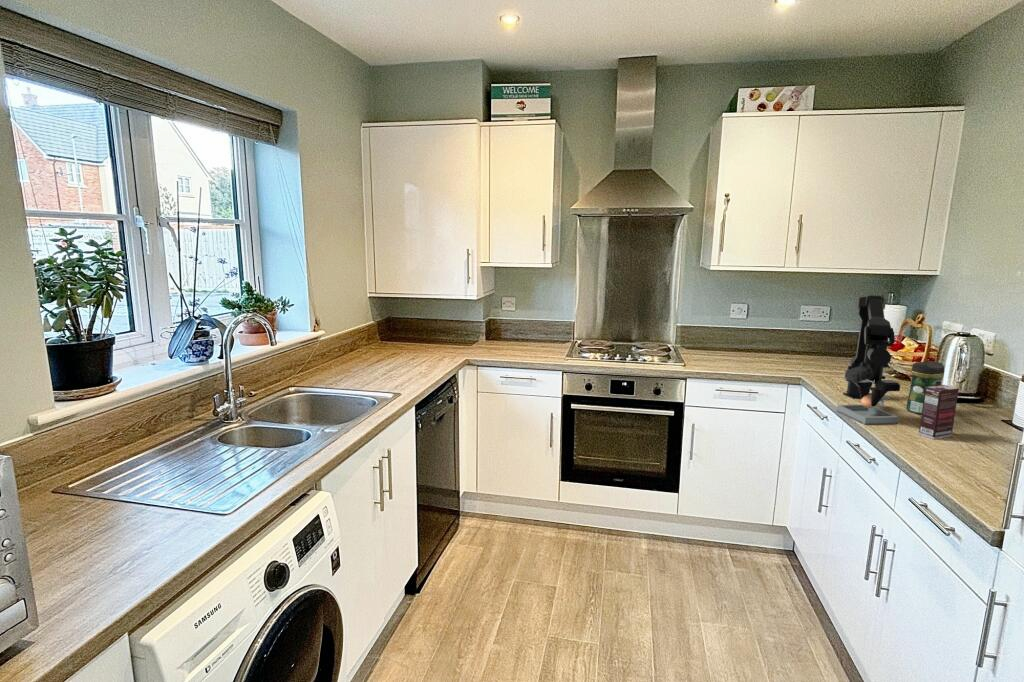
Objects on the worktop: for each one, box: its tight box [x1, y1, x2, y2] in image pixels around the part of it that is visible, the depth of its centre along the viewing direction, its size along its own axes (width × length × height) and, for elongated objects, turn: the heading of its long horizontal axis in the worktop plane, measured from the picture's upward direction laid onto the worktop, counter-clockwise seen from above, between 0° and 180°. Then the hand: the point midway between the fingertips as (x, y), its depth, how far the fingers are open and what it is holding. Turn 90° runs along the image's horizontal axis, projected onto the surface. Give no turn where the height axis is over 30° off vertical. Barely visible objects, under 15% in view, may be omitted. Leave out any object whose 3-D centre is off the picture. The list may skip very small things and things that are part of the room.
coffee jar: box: [905, 360, 945, 415], centre depth 194 cm, size 10×8×19 cm
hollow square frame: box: [868, 392, 891, 411], centre depth 199 cm, size 6×6×5 cm
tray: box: [836, 404, 900, 426], centre depth 188 cm, size 14×12×2 cm
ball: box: [860, 395, 874, 408], centre depth 187 cm, size 4×4×4 cm
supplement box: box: [918, 384, 959, 440], centre depth 170 cm, size 9×5×16 cm, turn 109°
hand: (868, 404), depth 187 cm, fingers closed on ball, 4 cm apart
